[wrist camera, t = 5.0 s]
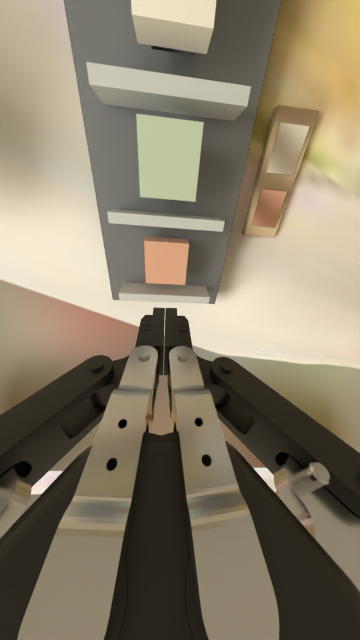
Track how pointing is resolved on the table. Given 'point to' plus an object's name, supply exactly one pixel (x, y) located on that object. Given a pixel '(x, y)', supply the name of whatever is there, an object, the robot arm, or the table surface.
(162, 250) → the orange cube
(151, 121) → the key sage
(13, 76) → the table surface
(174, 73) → the grey shelf board
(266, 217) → the strip
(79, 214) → the table surface
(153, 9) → the key ivory
